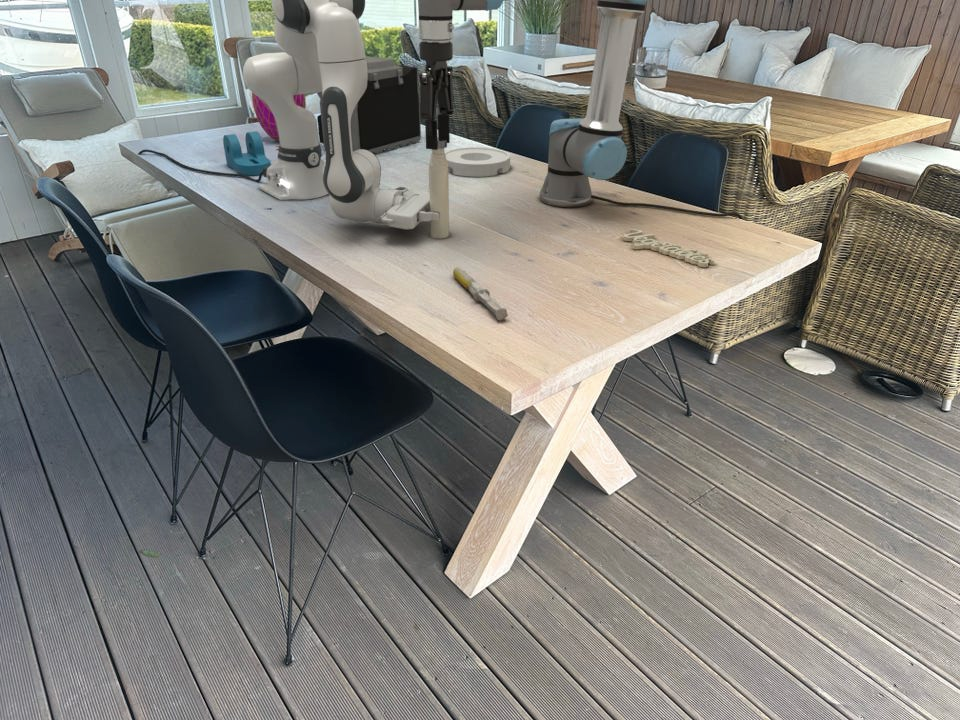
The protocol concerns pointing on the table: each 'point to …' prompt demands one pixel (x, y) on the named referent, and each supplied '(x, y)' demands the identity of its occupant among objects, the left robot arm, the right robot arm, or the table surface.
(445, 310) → the table surface
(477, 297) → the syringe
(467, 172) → the ashtray
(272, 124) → the decorative egg
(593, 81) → the right robot arm
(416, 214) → the left robot arm
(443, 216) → the bottle
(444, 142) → the cap
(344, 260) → the table surface
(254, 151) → the camera mount
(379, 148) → the cooler box
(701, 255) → the decorative sign
